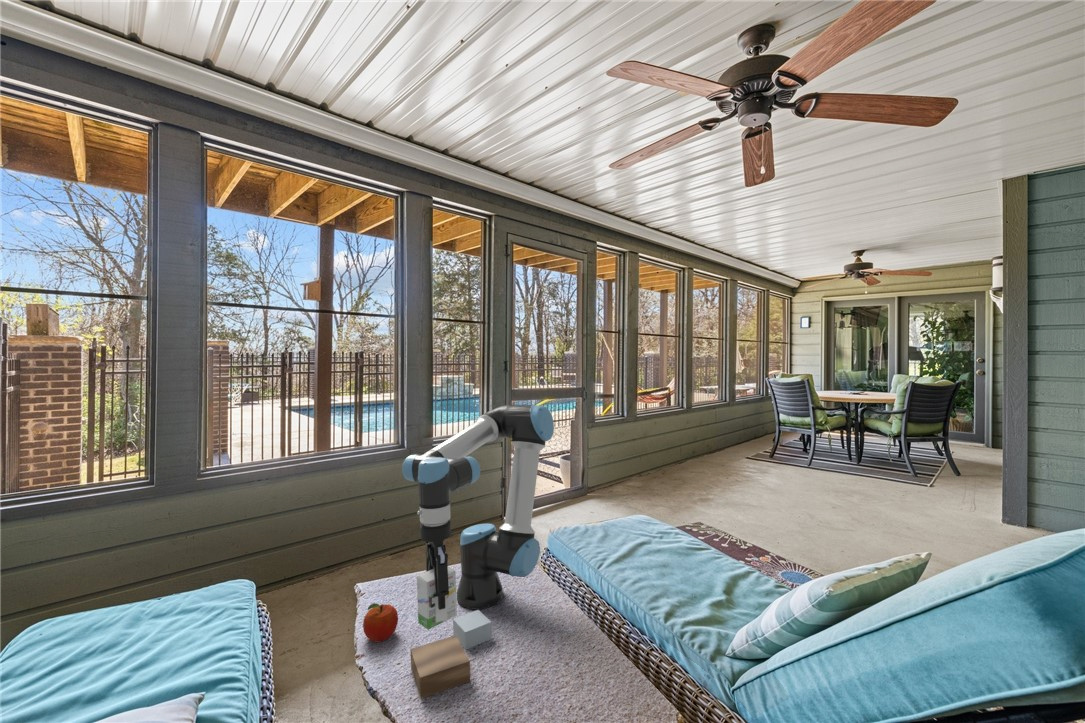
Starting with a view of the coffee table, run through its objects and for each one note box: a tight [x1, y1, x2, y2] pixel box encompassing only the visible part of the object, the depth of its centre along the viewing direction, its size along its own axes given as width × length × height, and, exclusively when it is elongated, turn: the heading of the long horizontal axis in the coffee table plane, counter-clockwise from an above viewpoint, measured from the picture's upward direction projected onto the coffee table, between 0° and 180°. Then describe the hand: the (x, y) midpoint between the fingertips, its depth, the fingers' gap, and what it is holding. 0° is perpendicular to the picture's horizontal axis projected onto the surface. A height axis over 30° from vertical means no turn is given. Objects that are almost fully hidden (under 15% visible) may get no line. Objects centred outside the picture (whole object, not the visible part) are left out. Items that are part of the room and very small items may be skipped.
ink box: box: [416, 566, 458, 630], centre depth 114 cm, size 8×5×12 cm, turn 135°
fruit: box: [362, 602, 399, 643], centre depth 131 cm, size 10×10×10 cm
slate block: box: [452, 609, 493, 651], centre depth 130 cm, size 8×8×5 cm
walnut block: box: [409, 635, 471, 700], centre depth 114 cm, size 12×12×5 cm
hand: (437, 613), depth 114 cm, fingers closed on ink box, 6 cm apart
